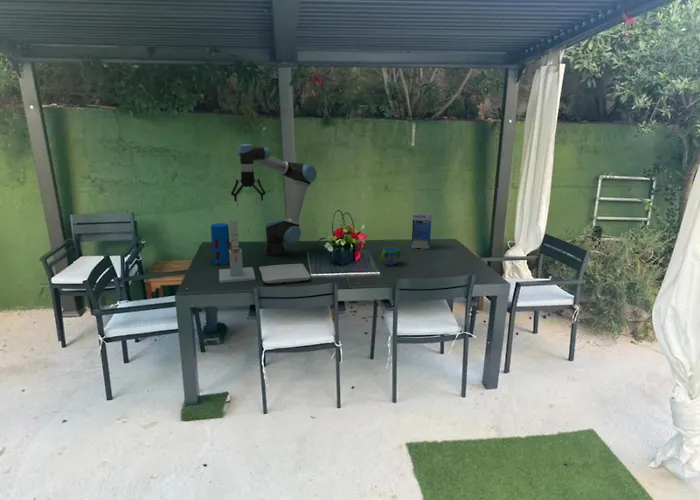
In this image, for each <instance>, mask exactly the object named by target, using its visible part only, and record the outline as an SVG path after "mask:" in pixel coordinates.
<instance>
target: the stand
mask: <svg viewBox="0 0 700 500" xmlns="http://www.w3.org/2000/svg"><path fill="white" fill-rule="evenodd" d="M229 258H230V263H229V268H221V269H218V278H219V279H218V281H219V284H223V283H235V282H236V283H237V282H247V281H256V275H255V272H254V267H253V266H249V267H248V266H247V267H243V266H244V263H243V251H242V248H239V252H238V250H237V251H233V252H232V250H231V248H230V250H229Z"/></svg>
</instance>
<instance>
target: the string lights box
mask: <svg viewBox="0 0 700 500" xmlns="http://www.w3.org/2000/svg"><path fill="white" fill-rule="evenodd" d="M411 227H412V229H411V231H412V232H411V247H412V248H429V247H430V246H431V231H432V230H431V229H432V213H429V212H427V213H426V212H413V213H412V226H411ZM429 249H430V248H429Z"/></svg>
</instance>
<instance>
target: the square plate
mask: <svg viewBox="0 0 700 500" xmlns="http://www.w3.org/2000/svg"><path fill="white" fill-rule="evenodd" d="M258 269H259V272H260V275H261V278H262V282H264V283H265V284H282V283H283V282H286V283H297V282H302V281H308V280H310V279H311V274H310V272H308V269H307V268H306V267H305V265H304V264H303V263H292V264H291V263H289V264H275V265H274V264H273V265H264V266H262V265H261V266H258Z"/></svg>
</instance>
